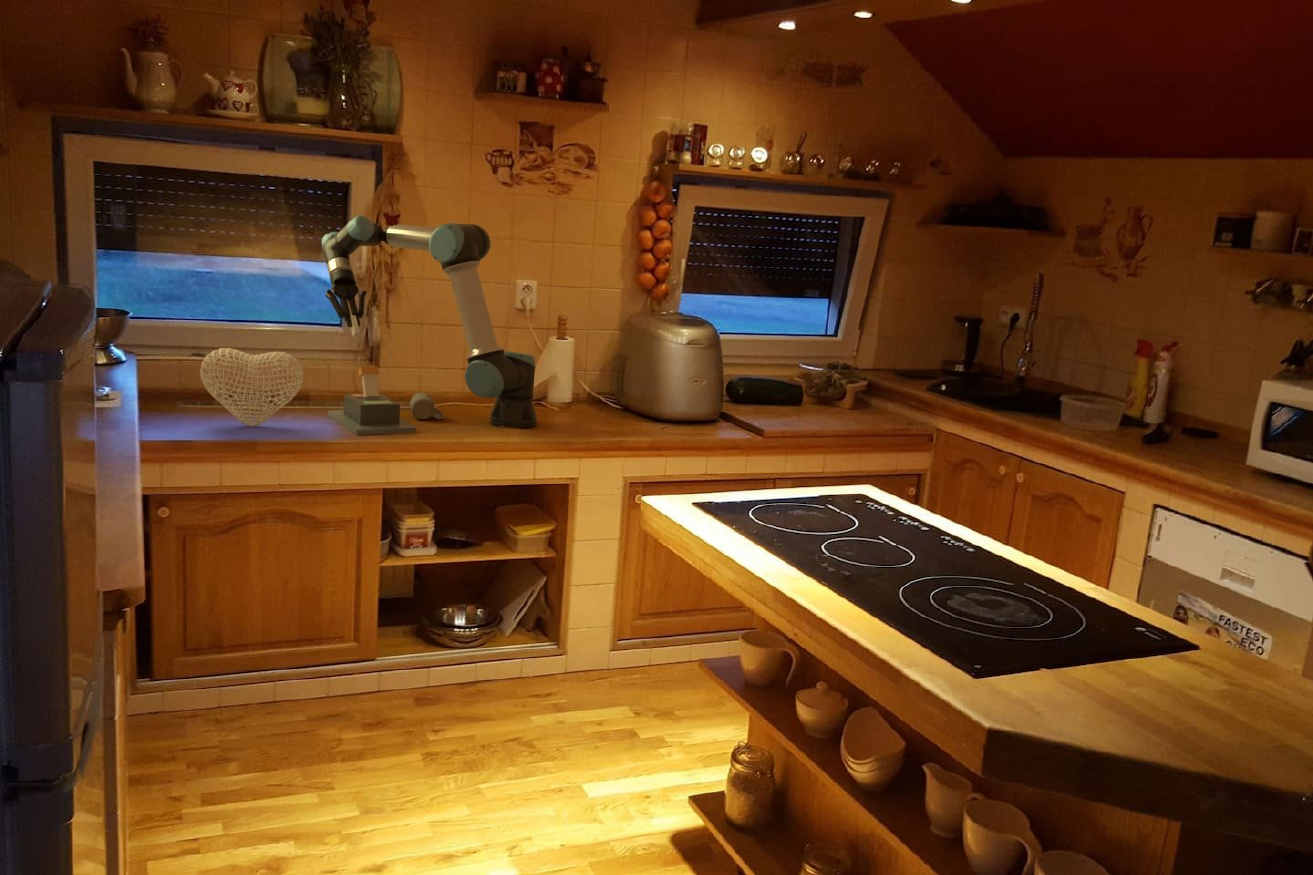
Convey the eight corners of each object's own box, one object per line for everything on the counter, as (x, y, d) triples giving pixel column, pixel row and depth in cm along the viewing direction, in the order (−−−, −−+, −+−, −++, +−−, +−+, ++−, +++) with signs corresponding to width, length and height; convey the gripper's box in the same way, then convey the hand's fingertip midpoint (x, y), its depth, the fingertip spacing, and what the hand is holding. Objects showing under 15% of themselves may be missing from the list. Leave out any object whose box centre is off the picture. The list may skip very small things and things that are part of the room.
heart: (193, 429, 306) (192, 350, 301) (209, 418, 321) (209, 343, 316) (296, 435, 309) (297, 357, 305) (307, 424, 324) (308, 350, 320)
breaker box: (327, 415, 339) (328, 390, 337) (384, 413, 349) (384, 389, 347) (356, 435, 316) (357, 408, 314) (415, 432, 326) (416, 406, 324)
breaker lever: (361, 398, 331) (358, 369, 332) (378, 398, 333) (375, 369, 335) (364, 396, 328) (361, 367, 330) (381, 395, 331) (378, 367, 332)
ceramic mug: (410, 420, 342) (412, 396, 340) (409, 415, 349) (410, 391, 348) (445, 422, 345) (446, 398, 343) (442, 416, 352) (444, 393, 351)
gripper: (358, 283, 356) (373, 342, 346) (318, 282, 349) (332, 341, 339) (364, 268, 351) (379, 327, 341) (323, 266, 344) (338, 327, 333)
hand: (356, 334), depth 340 cm, fingers closed
